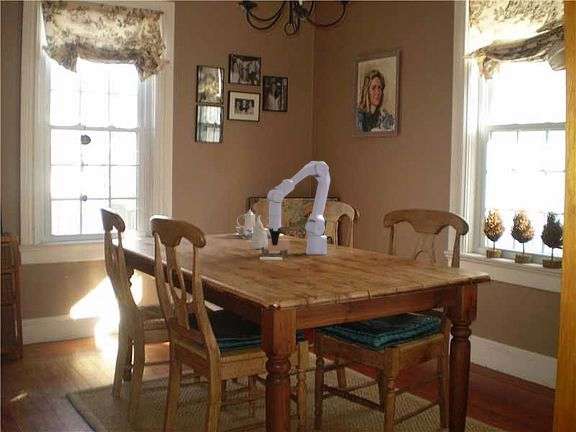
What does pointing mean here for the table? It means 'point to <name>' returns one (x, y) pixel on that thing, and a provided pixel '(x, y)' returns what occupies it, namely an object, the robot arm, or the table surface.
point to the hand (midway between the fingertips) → (274, 244)
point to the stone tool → (259, 236)
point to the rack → (266, 253)
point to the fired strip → (270, 258)
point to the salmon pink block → (279, 245)
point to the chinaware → (249, 226)
